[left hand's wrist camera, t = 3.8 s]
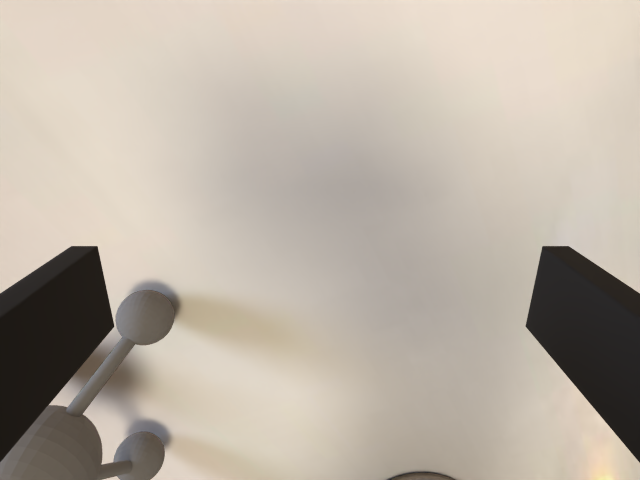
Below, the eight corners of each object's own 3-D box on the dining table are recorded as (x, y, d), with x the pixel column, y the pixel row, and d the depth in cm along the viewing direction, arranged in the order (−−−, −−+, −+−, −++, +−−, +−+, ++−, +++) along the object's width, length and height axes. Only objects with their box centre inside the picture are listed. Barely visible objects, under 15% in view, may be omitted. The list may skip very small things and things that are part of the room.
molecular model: (261, 348, 46) (173, 754, 18) (157, 458, 52) (-29, 890, 24) (73, 220, 41) (-461, 523, 13) (-19, 360, 47) (-519, 772, 19)
